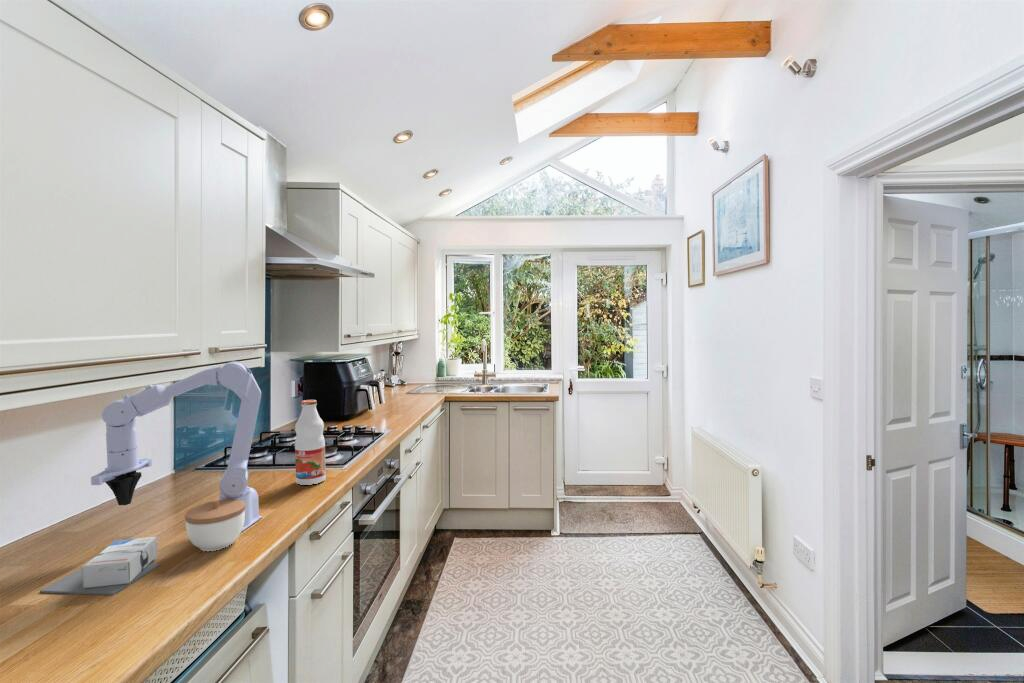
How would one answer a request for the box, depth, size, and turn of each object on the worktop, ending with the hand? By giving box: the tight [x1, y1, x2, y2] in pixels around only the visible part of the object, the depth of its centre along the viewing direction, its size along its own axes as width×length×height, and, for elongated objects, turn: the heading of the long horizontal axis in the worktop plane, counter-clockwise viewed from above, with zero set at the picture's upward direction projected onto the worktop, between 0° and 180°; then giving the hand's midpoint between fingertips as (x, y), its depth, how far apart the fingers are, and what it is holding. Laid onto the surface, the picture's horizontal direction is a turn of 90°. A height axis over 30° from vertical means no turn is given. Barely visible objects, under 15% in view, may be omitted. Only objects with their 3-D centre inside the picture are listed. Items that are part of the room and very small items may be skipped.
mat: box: [39, 562, 161, 596], centre depth 101 cm, size 12×16×1 cm
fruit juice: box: [294, 399, 327, 486], centre depth 160 cm, size 9×9×28 cm
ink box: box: [81, 536, 158, 588], centre depth 102 cm, size 8×5×12 cm
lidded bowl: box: [184, 499, 245, 553], centre depth 116 cm, size 13×13×11 cm
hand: (124, 504), depth 115 cm, fingers closed
